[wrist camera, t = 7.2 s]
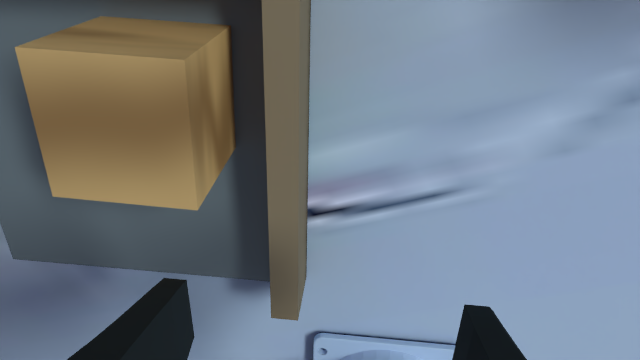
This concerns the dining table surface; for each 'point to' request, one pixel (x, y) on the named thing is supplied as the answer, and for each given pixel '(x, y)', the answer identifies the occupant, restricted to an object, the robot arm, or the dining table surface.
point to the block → (132, 109)
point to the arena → (229, 188)
